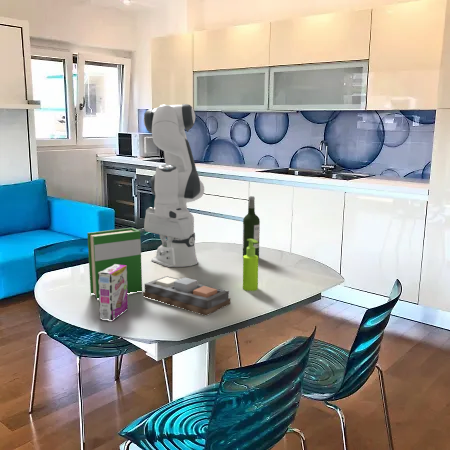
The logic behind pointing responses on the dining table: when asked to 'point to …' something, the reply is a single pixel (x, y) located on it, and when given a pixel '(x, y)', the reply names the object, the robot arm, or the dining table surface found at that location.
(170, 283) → the cream key
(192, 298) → the compartment tray
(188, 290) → the grey key
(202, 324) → the dining table surface
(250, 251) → the soap dispenser
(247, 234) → the wine bottle
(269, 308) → the dining table surface
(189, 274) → the dining table surface
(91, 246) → the hardback book
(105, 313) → the candy bar box
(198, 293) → the terracotta key
